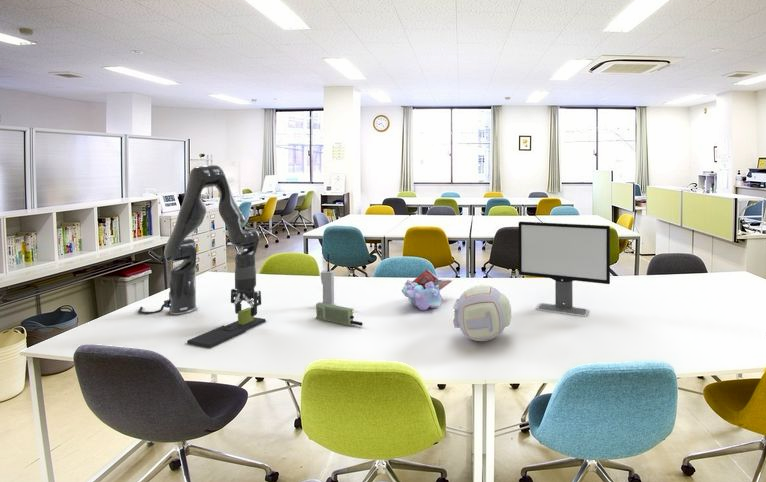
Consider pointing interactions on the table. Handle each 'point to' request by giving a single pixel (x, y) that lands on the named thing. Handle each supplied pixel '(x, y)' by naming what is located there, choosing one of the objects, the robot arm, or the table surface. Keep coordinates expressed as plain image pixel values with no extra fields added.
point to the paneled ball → (482, 313)
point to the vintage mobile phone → (328, 285)
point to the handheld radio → (336, 314)
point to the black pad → (246, 326)
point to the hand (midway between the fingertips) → (246, 314)
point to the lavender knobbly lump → (425, 290)
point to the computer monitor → (564, 258)
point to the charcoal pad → (215, 337)
